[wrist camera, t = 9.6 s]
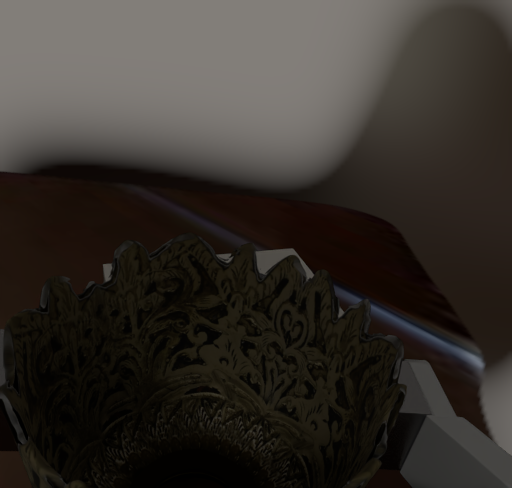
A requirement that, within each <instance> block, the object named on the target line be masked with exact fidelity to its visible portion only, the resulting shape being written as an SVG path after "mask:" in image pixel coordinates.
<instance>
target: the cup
mask: <svg viewBox="0 0 512 488" xmlns="http://www.w3.org/2000/svg"><path fill="white" fill-rule="evenodd" d="M256 251H257V249H256V247H255V246H254V244H253V243H247V244H244V245H242V246H240V247H239V248H237V249H235V250H234V251H233V252H232V253H231V256H230V257H228V258H231V257H233V258H232V260H231V261H230V262H228V263H227V262H225V261H228V260H229V259H223V258H221V257H219V256H218V255H217V256H218V257H219V258H220V259H219V258H218V257H217V256H216V254H215V252H214V250H213V248H212V247H211V246H210V245H209V244H208V243H206V242H205V241H204V240H203V239H202V238H200V237H199V236H197V235H195V234H193V233H190V232H188V233H185V234H182V235H180V236H177V237H175V238H173V239H171V240H170V241H168V242H167V243H166V244H164V245H162V246H161V247H160V248H158V249H157V250H156V251H154V252H152V253H150V254H148V253H149V252H148V251H147V250H146V248H145V247H144V246H142V244H141V243H139V242H137V241H133V240H126V241H124V242H123V243H122V244H121V245H120V246H119V247H118V248H117V249H116V250H115V253H114V258H113V259H114V260H113V262H112V265H111V266H112V270H111V272H110V276H111V275H112V276H111V279H110V280H109V281H107V282H105V283H103V284H96V283H95V282H94V281H91V282H89V283H88V285H87V287H86V289H84V290H85V291H84V290H83V291H84V292H83V293H82V294H79V295H76V294H75V292H74V291H73V289H72V287H71V284H70V283H69V282H67V281H68V280H70V279H69V278H67V277H64V276H52V277H50V278H49V279H47V281H46V282H45V284H44V287H43V289H42V293H41V299H40V305H39V308H36V309H25V310H23V311H21V312H19V313H17V314H16V315H14V316H13V317H12V318H11V319H9V320H8V321H7V322H6V326H5V329H4V338H3V367H4V371H5V380H6V382H5V383H4V384H3V385H1V386H0V407H1V410H2V412H3V414H4V416H5V418H6V420H7V422H8V424H9V427H10V429H11V432H12V435H13V437H14V439H15V442H16V445H17V447H18V450H19V453H20V455H21V458H22V461H23V463H24V466H25V469H26V471H27V474H28V477H29V479H30V482H31V484H32V487H33V488H365V487H366V485H367V484H368V482H369V481H370V480H371V478H372V477H373V476H374V474H375V473H376V472H377V470H378V469H379V468H380V466H381V464H382V462H381V461H380V460H381V458H382V456H383V454H384V453H385V452H386V449H387V443H386V441H387V438H388V436H389V433H390V431H391V429H392V427H393V426H395V422H396V419H397V417H398V415H399V412H400V410H401V408H402V406H403V404H404V401H405V398H406V393H407V386H406V385H404V384H399V383H398V379H399V375H400V371H401V366H402V360H403V357H404V347H403V342H402V341H401V340H400V339H399V338H398V337H396V336H392V335H387V336H386V335H383V334H381V333H379V334H373V335H370V334H368V328H369V325H370V322H371V318H370V310H371V305H370V302H369V300H368V299H364V300H362V301H360V302H359V303H358V304H356V305H352V306H349V307H350V308H348V309H347V310H346V311H345V312H344V314H343V315H342V316H341V317H338V315H339V309H340V308H339V298H337V297H336V296H335V291H334V287H333V282H332V279H331V276H330V274H329V273H328V271H326V270H323V269H322V270H319V271H317V272H316V274H315V275H314V276H313V277H312V279H311V278H310V277H309V279H307V276H306V272H305V270H304V268H303V267H302V265H301V262H300V260H299V258H298V257H297V256H296V255H289V256H287V257H285V258H283V259H281V260H280V261H279V262H277V263H276V264H275V265H273V266H272V267H271V268H270V269H269V270H268V271H267V272H266V273H267V274H266V273H265V274H266V275H265V277H263V278H261V277H260V272H259V270H258V267H257V256H256ZM221 259H222V260H224V261H222V260H221ZM260 270H261V268H260ZM110 276H109V277H110ZM109 277H108V278H109ZM306 279H307V280H308V281H307V280H306ZM383 336H386V337H383ZM369 365H370V367H371V369H372V371H371V372H370V374H369ZM16 369H17V376H18V385H19V394H18V392H17V391H16V389H15V388H14V387H13V386H14V379H15V372H16ZM376 386H377V387H376ZM382 423H383V424H382ZM381 425H382V426H381ZM380 427H381V428H380Z"/></svg>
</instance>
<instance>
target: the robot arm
mask: <svg viewBox="0 0 512 488" xmlns="http://www.w3.org/2000/svg"><path fill="white" fill-rule="evenodd" d="M3 338H4V330H3V329H0V386H1V385H3V384H4V383H5V382H6V380H5V371H4V367H3ZM371 371H372V369H371V367H370V365H369V374H370V372H371ZM398 383H399V384H404V385H406V386H407V393H406V398H405V401H404V404H403V406H402V408H401V410H400V412H399V415H398V417H397V419H396V422H395V426H393V427H392V429H391V431H390V433H389V436H388V438H387V441H386V443H387V449H386V452H385V453H384V454H383V456H382V458H381V460H380V461H381V462H382V464H381V466H380V468H379V469H387V470H400V473H401V474H402V476H403V477H404V478H405V479H406V480H407V482H408V483H409V484H410V485H411V486H412V488H512V456H511V455H510V454H508V453H507V452H506V451H505V450H503V449H502V448H501V447H499V446H498V445H497V444H496V443H495V442H493V441H492V440H491V439H490V438H488V437H487V436H486V435H485V434H483V433H482V432H481V431H480V430H478V429H477V428H476V427H475V426H473V425H472V424H471V423H470V422H468V421H467V420H466V419H464V418H463V417H457V416H456V414H455V412H454V410H453V408H452V407H451V405H450V403H449V401H448V399H447V397H446V395H445V393H444V391H443V389H442V387H441V385H440V383H439V381H438V379H437V377H436V375H435V373H434V371H433V369H432V368H431V366H430V364H429V363H428V362H427V361H426V360H410V359H404V360H402V366H401V371H400V375H399V379H398ZM13 387H14V388H15V389H16V391H17V392H18V394H19V385H18V376H17V369H16V372H15V379H14V386H13ZM376 387H377V386H376ZM382 424H383V423H382ZM381 426H382V425H381ZM380 428H381V427H380ZM0 451H19V450H18V447H17V445H16V442H15V439H14V437H13V435H12V432H11V429H10V427H9V424H8V422H7V420H6V418H5V416H4V414H3V412H2V410H1V407H0Z"/></svg>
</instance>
